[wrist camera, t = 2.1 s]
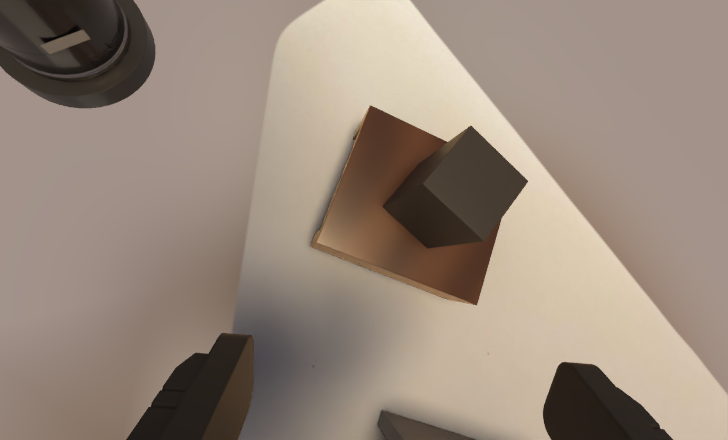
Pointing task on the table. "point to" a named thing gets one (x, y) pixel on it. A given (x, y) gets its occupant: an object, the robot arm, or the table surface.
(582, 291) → the table surface
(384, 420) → the grey step stool
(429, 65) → the table surface
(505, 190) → the black block
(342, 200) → the brown wooden box
